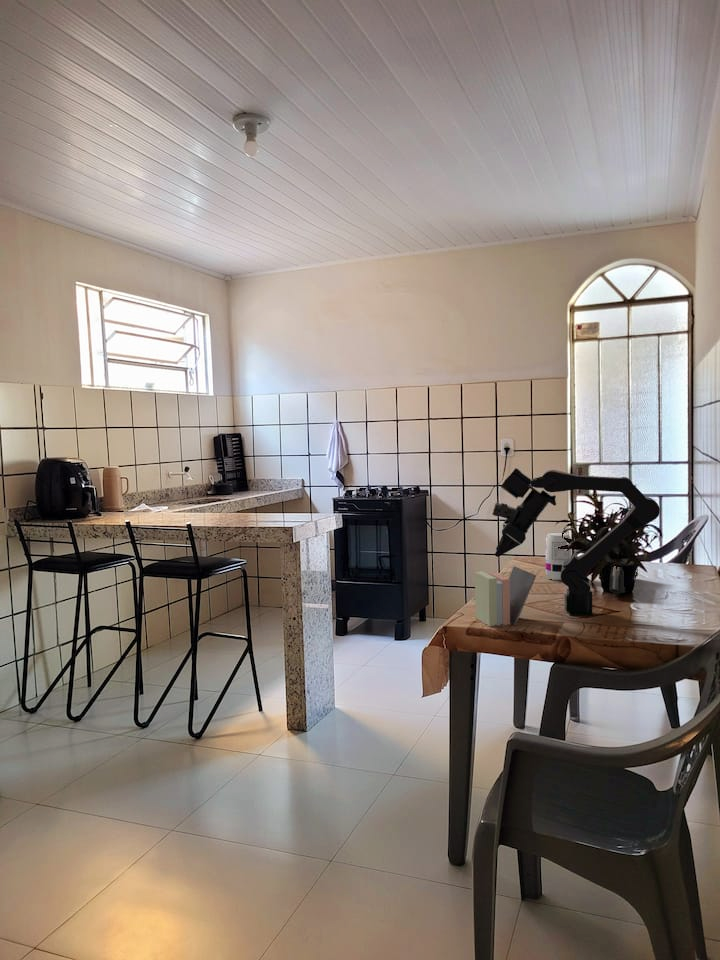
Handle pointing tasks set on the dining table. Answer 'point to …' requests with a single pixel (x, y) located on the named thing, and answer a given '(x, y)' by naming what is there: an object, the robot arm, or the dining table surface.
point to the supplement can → (556, 554)
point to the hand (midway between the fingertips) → (496, 553)
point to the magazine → (617, 580)
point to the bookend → (519, 591)
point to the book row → (492, 598)
